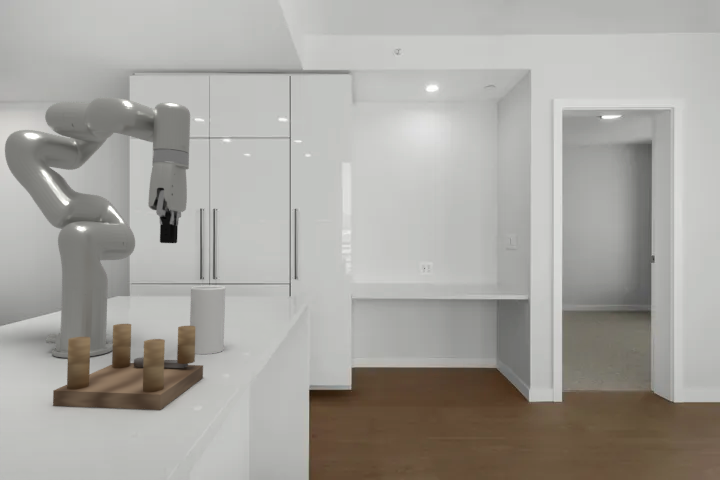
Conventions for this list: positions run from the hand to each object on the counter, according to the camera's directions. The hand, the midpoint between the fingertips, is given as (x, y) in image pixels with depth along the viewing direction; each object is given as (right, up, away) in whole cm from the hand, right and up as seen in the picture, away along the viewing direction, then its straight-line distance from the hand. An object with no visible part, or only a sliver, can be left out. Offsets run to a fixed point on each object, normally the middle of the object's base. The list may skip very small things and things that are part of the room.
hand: (168, 242), depth 103 cm
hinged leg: (+4, -24, -12) cm, 27 cm away
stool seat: (+2, -27, -18) cm, 33 cm away
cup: (+4, -27, +14) cm, 31 cm away
